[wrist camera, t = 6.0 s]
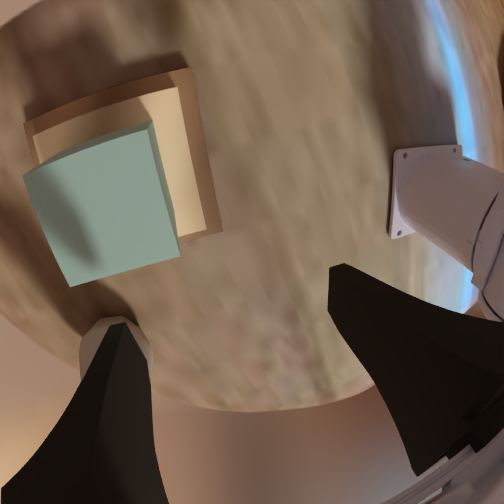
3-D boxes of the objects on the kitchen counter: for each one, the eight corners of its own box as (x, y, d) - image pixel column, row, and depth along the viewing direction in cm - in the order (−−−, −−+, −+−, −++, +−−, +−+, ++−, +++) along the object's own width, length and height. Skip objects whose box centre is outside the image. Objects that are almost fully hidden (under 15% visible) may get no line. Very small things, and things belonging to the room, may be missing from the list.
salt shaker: (74, 309, 19) (48, 471, 8) (143, 301, 21) (155, 474, 10) (96, 360, 22) (95, 500, 11) (158, 354, 23) (179, 499, 13)
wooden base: (190, 69, 14) (194, 64, 12) (219, 223, 19) (227, 240, 17) (31, 121, 12) (14, 126, 10) (79, 262, 18) (72, 282, 16)
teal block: (152, 120, 13) (146, 129, 9) (174, 210, 16) (180, 256, 11) (62, 150, 12) (22, 175, 8) (90, 234, 15) (70, 287, 11)
